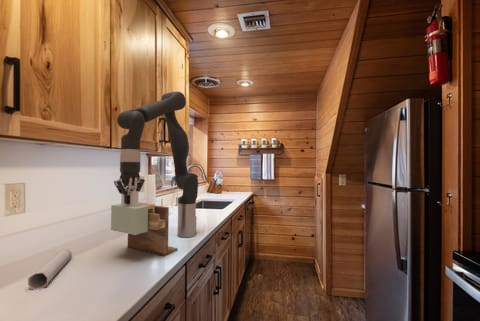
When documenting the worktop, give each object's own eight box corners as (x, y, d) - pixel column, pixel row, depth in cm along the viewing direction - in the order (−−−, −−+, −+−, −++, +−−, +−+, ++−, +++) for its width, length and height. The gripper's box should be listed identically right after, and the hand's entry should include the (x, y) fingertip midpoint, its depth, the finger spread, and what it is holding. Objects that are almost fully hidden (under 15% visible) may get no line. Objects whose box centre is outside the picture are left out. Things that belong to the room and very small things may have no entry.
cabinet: (132, 224, 110) (133, 188, 110) (156, 228, 104) (156, 190, 104) (110, 230, 101) (111, 190, 101) (135, 235, 94) (136, 192, 94)
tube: (56, 249, 98) (24, 277, 75) (71, 244, 100) (44, 269, 76) (61, 262, 99) (31, 293, 75) (76, 256, 100) (51, 285, 77)
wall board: (141, 242, 120) (142, 201, 120) (177, 250, 110) (178, 205, 110) (118, 250, 108) (119, 204, 109) (156, 260, 99) (157, 209, 99)
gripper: (137, 160, 108) (136, 200, 108) (108, 160, 96) (107, 205, 96) (150, 161, 105) (149, 202, 105) (122, 160, 92) (121, 207, 92)
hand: (129, 203), depth 100 cm, fingers closed on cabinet, 1 cm apart
